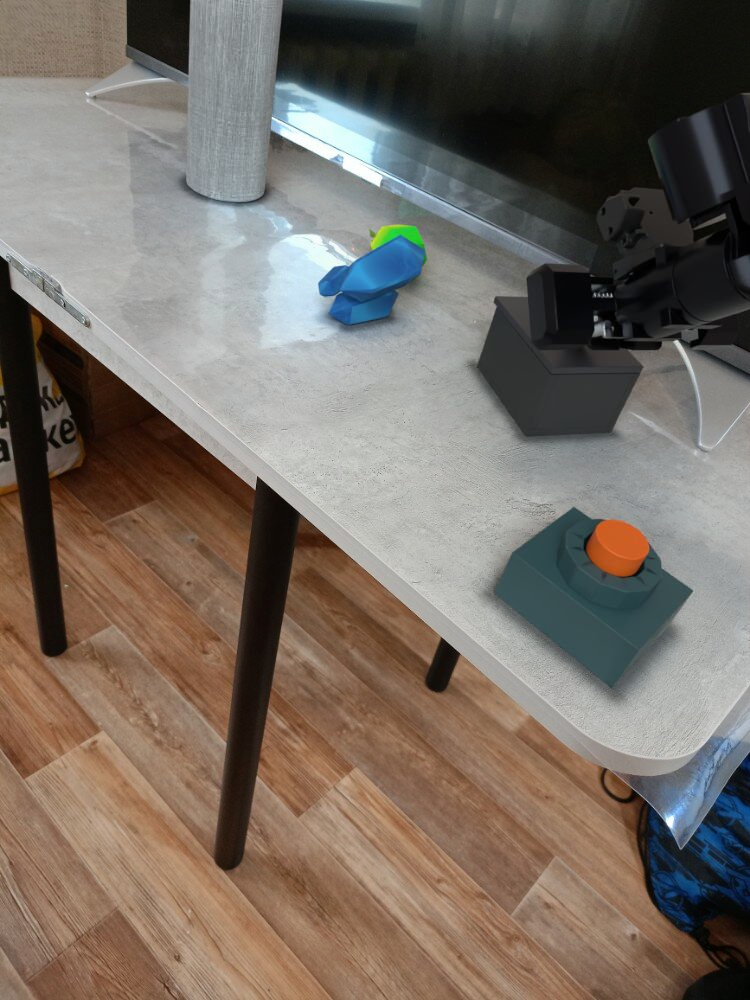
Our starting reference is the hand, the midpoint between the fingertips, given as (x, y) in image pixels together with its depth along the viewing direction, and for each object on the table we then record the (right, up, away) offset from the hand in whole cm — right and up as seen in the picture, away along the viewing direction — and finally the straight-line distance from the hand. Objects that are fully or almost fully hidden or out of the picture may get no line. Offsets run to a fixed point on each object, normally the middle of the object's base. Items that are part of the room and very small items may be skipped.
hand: (574, 333), depth 68 cm
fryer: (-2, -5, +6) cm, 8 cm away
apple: (-17, +12, +20) cm, 29 cm away
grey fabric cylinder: (-37, +25, +29) cm, 54 cm away
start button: (-2, -19, -18) cm, 26 cm away
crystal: (-19, +4, +11) cm, 23 cm away
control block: (-3, -23, -15) cm, 27 cm away
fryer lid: (-1, 0, +1) cm, 2 cm away
